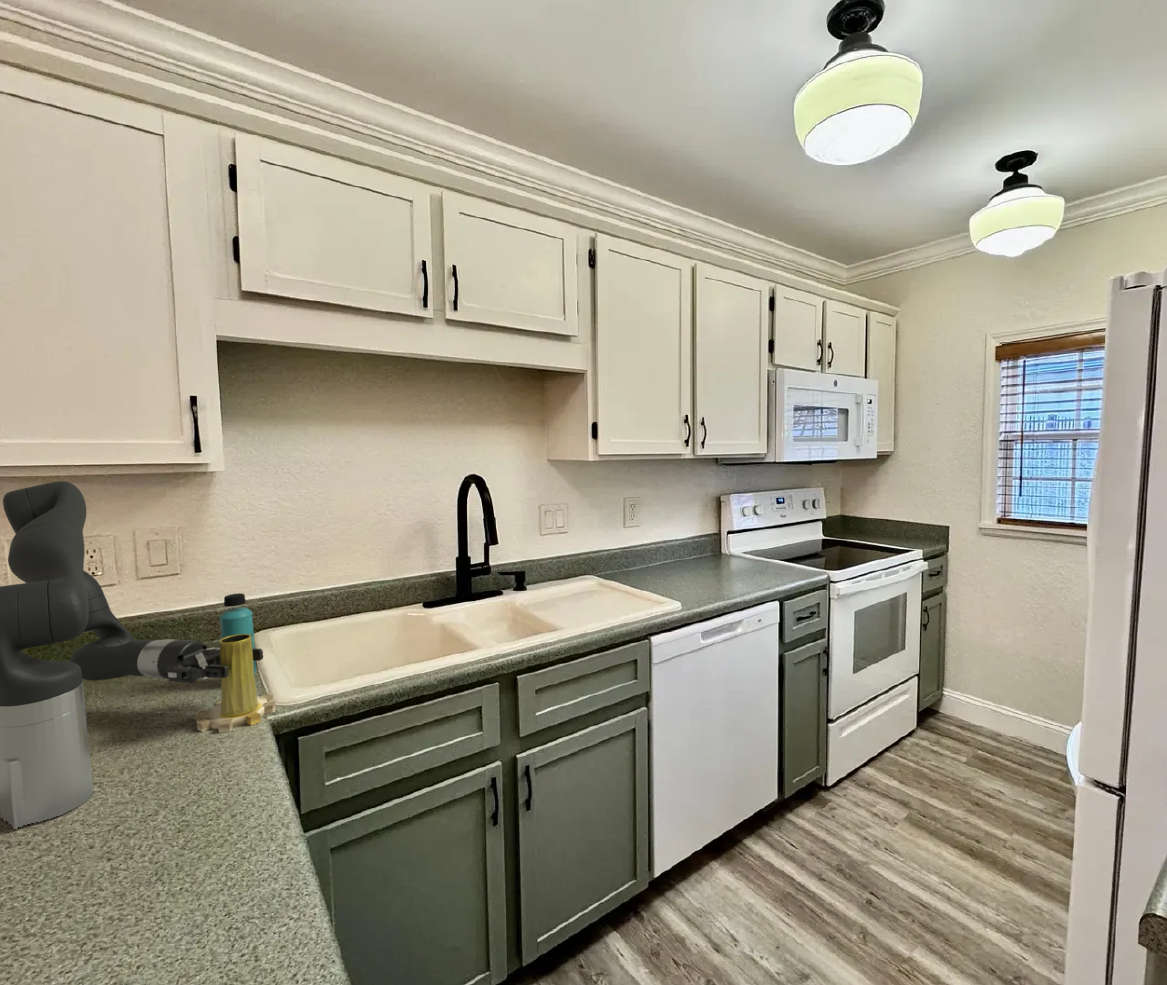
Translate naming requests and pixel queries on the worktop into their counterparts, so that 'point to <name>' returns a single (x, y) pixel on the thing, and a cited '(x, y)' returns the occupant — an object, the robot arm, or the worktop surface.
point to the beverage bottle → (237, 619)
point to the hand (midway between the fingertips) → (245, 663)
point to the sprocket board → (225, 724)
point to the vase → (238, 676)
